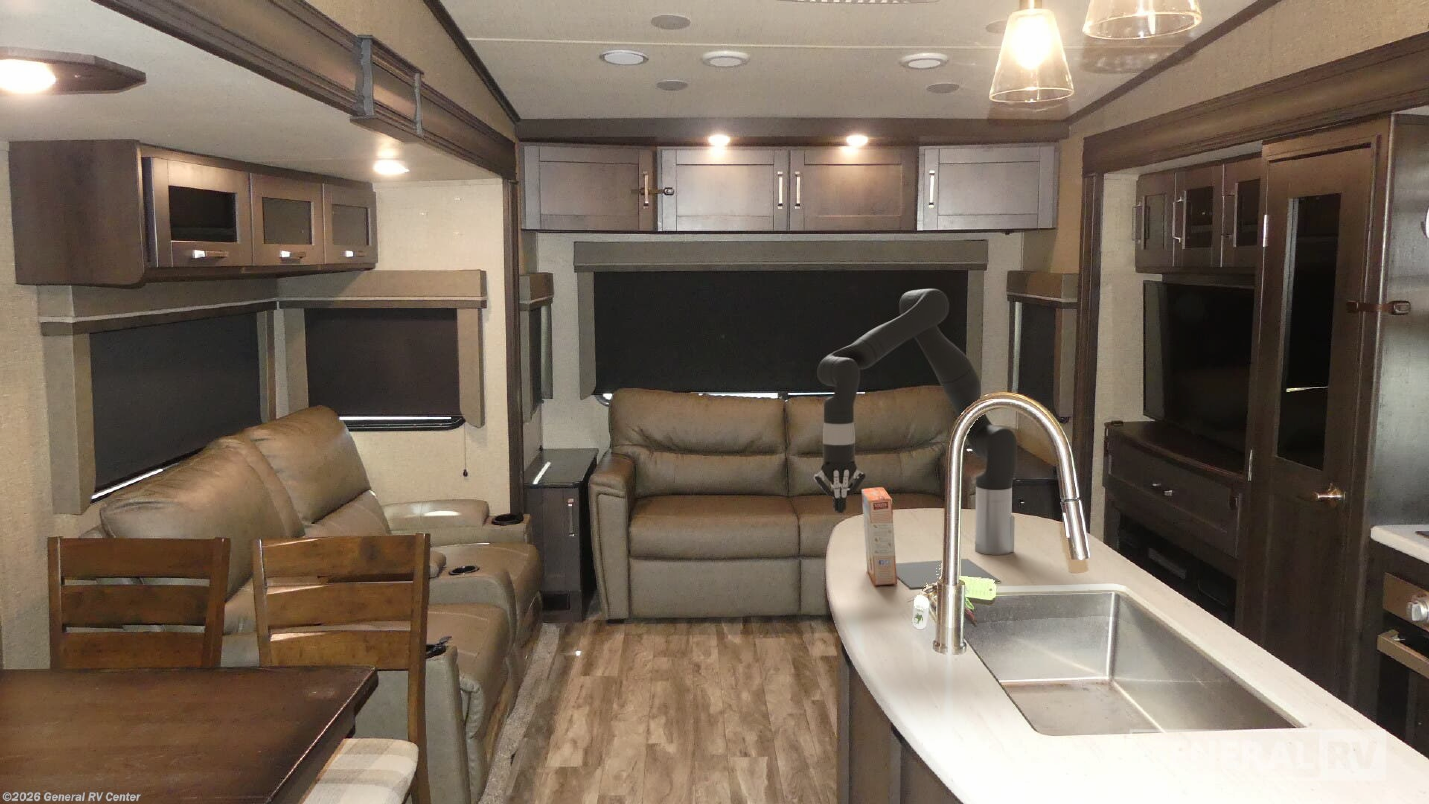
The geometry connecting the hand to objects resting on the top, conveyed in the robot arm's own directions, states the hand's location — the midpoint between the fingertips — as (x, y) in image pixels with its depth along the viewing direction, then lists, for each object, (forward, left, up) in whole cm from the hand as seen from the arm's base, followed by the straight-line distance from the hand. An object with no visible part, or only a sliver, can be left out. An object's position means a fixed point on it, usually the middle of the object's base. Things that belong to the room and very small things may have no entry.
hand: (839, 512), depth 255 cm
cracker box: (-11, 0, -17) cm, 20 cm away
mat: (-25, 0, -17) cm, 31 cm away
